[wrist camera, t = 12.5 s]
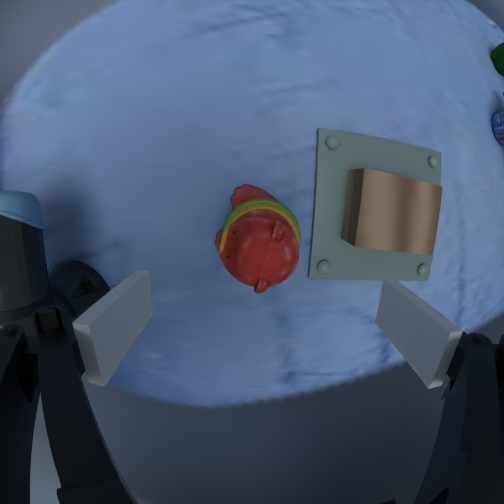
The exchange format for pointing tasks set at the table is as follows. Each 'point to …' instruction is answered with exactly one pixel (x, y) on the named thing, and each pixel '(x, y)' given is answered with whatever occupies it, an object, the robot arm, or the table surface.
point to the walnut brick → (390, 212)
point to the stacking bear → (258, 239)
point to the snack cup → (499, 125)
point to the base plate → (333, 203)
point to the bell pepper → (499, 58)
